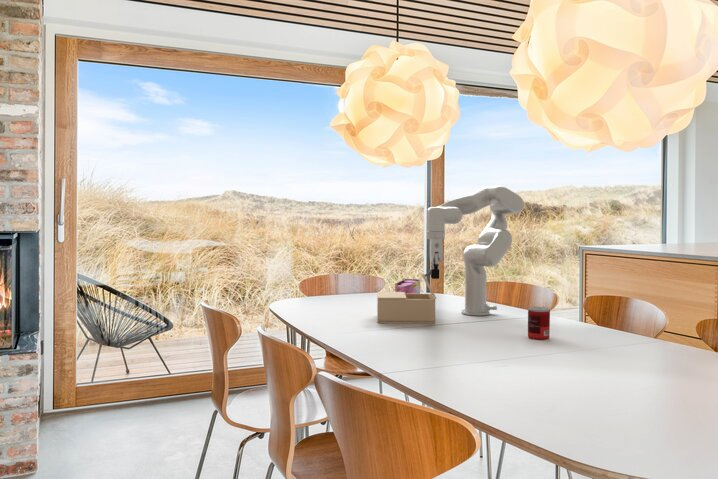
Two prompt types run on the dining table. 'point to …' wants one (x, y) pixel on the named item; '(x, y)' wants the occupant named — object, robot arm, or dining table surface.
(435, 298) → the carton flap
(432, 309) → the carton
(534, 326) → the canned food
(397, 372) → the dining table surface
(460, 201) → the robot arm
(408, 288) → the gum box
